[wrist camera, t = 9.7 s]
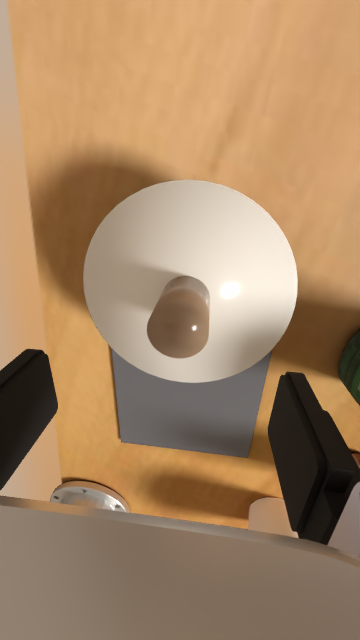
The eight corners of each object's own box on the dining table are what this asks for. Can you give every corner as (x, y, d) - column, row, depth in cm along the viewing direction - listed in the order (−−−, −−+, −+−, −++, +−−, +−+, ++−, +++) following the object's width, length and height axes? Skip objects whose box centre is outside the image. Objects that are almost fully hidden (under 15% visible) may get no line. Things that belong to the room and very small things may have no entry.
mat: (247, 455, 33) (247, 457, 33) (122, 439, 34) (121, 442, 34) (271, 346, 26) (272, 348, 25) (111, 332, 27) (110, 334, 27)
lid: (271, 382, 21) (289, 442, 16) (100, 366, 22) (68, 416, 17) (318, 183, 15) (370, 182, 10) (75, 176, 16) (14, 172, 11)
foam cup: (227, 517, 40) (233, 653, 28) (254, 482, 35) (273, 626, 24) (287, 535, 40) (316, 677, 28) (320, 503, 36) (371, 655, 24)
